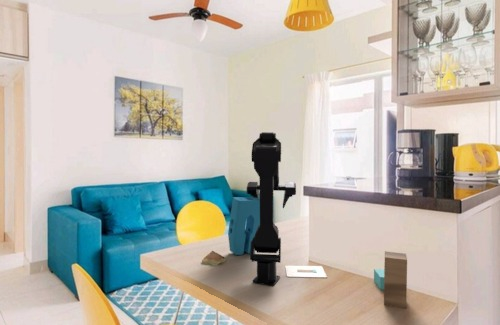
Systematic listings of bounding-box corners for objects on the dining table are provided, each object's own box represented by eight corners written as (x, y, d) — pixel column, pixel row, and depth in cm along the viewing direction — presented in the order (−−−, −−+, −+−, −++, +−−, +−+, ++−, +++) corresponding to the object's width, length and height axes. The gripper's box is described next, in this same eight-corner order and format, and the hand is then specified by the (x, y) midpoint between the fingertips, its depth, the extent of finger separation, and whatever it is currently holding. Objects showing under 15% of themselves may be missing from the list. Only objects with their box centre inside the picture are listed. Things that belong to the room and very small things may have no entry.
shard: (212, 254, 119) (212, 249, 119) (231, 256, 117) (231, 251, 117) (200, 264, 108) (200, 259, 108) (222, 266, 107) (222, 261, 107)
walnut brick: (406, 308, 78) (407, 259, 77) (383, 304, 80) (384, 257, 79) (405, 299, 82) (405, 253, 82) (383, 296, 84) (384, 251, 84)
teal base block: (402, 290, 87) (403, 278, 87) (380, 289, 88) (380, 277, 88) (395, 281, 93) (395, 269, 93) (373, 280, 94) (374, 268, 94)
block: (251, 247, 125) (259, 197, 123) (258, 252, 120) (266, 200, 118) (224, 249, 118) (232, 197, 116) (231, 255, 114) (238, 200, 112)
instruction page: (327, 277, 96) (327, 276, 96) (287, 277, 97) (287, 276, 97) (321, 266, 105) (321, 265, 105) (285, 266, 106) (285, 265, 106)
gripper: (295, 163, 127) (294, 198, 133) (248, 163, 129) (250, 197, 135) (296, 175, 116) (295, 212, 122) (245, 174, 119) (247, 211, 124)
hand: (271, 207), depth 126 cm, fingers open, 9 cm apart
